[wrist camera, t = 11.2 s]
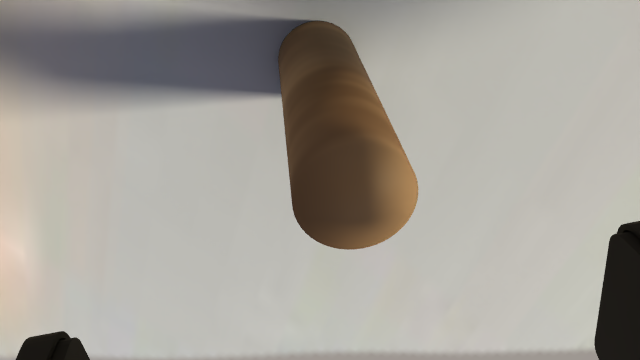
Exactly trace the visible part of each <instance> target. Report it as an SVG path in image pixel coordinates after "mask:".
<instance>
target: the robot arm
mask: <svg viewBox="0 0 640 360" xmlns="http://www.w3.org/2000/svg"><path fill="white" fill-rule="evenodd" d="M595 350H596V353H597V356H598V358H599V360H640V221H637V222H632V223H627V224H623V225H621V226H620V227H619V229H618V232H617V234H614V235H612V236H611V238H610V241H609V248H608V254H607V261H606V268H605V274H604V281H603V288H602V295H601V301H600V308H599V315H598V321H597V328H596V335H595ZM16 360H90V359H89V357H88V355H87V353H86V351H85V349H84V347H83V345H82V343H81V341H80V340H79V339H78V338H70V337H69V335H68V334H67V333H66V332H64V331H60V332H55V333H50V334H45V335H39V336H34V337H29V338H28V339H26V340H25V341H24V343H23V345H22V347H21V349H20V351H19V353H18V356H17V358H16Z"/></svg>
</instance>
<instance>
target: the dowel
mask: <svg viewBox="0 0 640 360" xmlns="http://www.w3.org/2000/svg"><path fill="white" fill-rule="evenodd" d="M278 63H279V74H280V84H281V94H282V104H283V115H284V125H285V135H286V145H287V156H288V166H289V176H290V186H291V197H292V206H293V211H294V215H295V218H296V220H297V222H298V224H299V225H300V227H301V228H302V229H303V230H304V231H305V233H306V234H308V235H309V236H310V237H311V238H313V239H314V240H316V241H317V242H319V243H322V244H324V245H326V246H330V247H333V248H338V249H360V248H366V247H370V246H373V245H376V244H378V243H381V242H383V241H385V240H386V239H388V238H390V237H391V236H393V235H394V234H395V233H397V232H398V231H399V230H400V229H401V228H402V227H403V226H404V225H405V224H406V222H407V221H408V220H409V218H410V217H411V215H412V213H413V211H414V209H415V206H416V203H417V198H418V183H417V179H416V176H415V173H414V171H413V169H412V167H411V165H410V163H409V160H408V158H407V156H406V154H405V152H404V150H403V148H402V146H401V144H400V142H399V139H398V137H397V135H396V133H395V131H394V129H393V127H392V125H391V123H390V121H389V118H388V116H387V114H386V112H385V110H384V108H383V106H382V104H381V102H380V100H379V97H378V95H377V93H376V91H375V89H374V87H373V85H372V83H371V81H370V79H369V76H368V74H367V72H366V70H365V68H364V66H363V64H362V62H361V60H360V58H359V55H358V53H357V51H356V49H355V47H354V45H353V43H352V41H351V39H350V37H349V36H348V35H347V34H346V32H345V31H343V30H342V29H341V28H340V27H338V26H336V25H334V24H332V23H329V22H324V21H311V22H307V23H304V24H301V25H300V26H298V27H296V28H295V29H293V30H292V31H291V32H290V33H289V34H288V35H287V36H286V38H285V39H284V41H283V42H282V45H281V47H280V50H279V56H278Z"/></svg>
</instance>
